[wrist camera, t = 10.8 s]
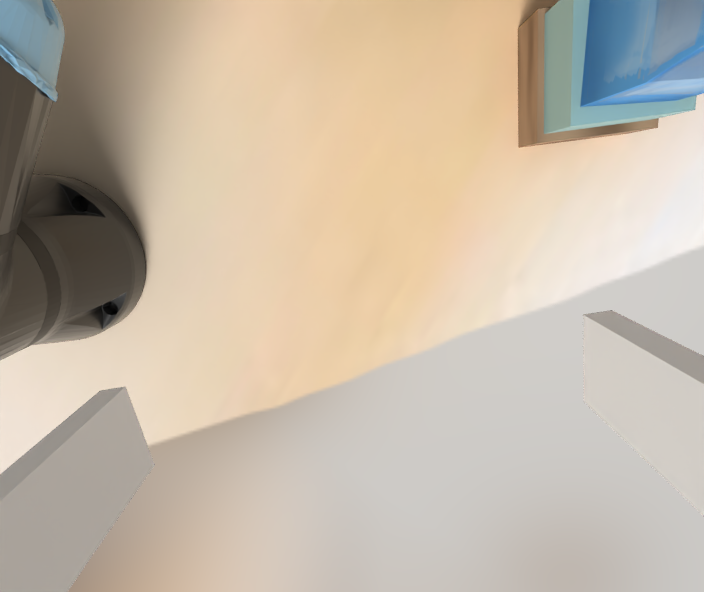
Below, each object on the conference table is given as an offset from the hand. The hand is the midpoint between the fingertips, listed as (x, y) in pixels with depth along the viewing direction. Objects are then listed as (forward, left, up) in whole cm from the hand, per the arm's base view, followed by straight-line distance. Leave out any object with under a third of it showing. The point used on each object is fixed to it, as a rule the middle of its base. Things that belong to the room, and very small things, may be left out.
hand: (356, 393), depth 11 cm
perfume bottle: (+19, +12, -19) cm, 29 cm away
